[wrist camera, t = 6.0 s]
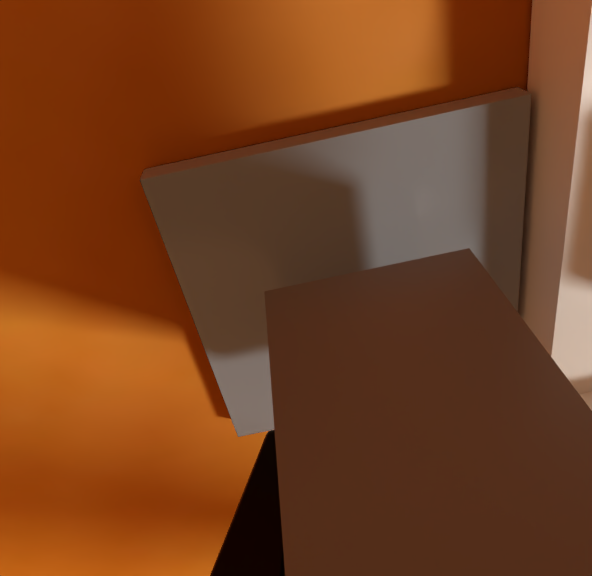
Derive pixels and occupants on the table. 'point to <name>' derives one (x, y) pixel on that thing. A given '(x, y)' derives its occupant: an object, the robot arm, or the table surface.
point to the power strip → (560, 189)
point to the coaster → (337, 219)
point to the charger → (424, 429)
